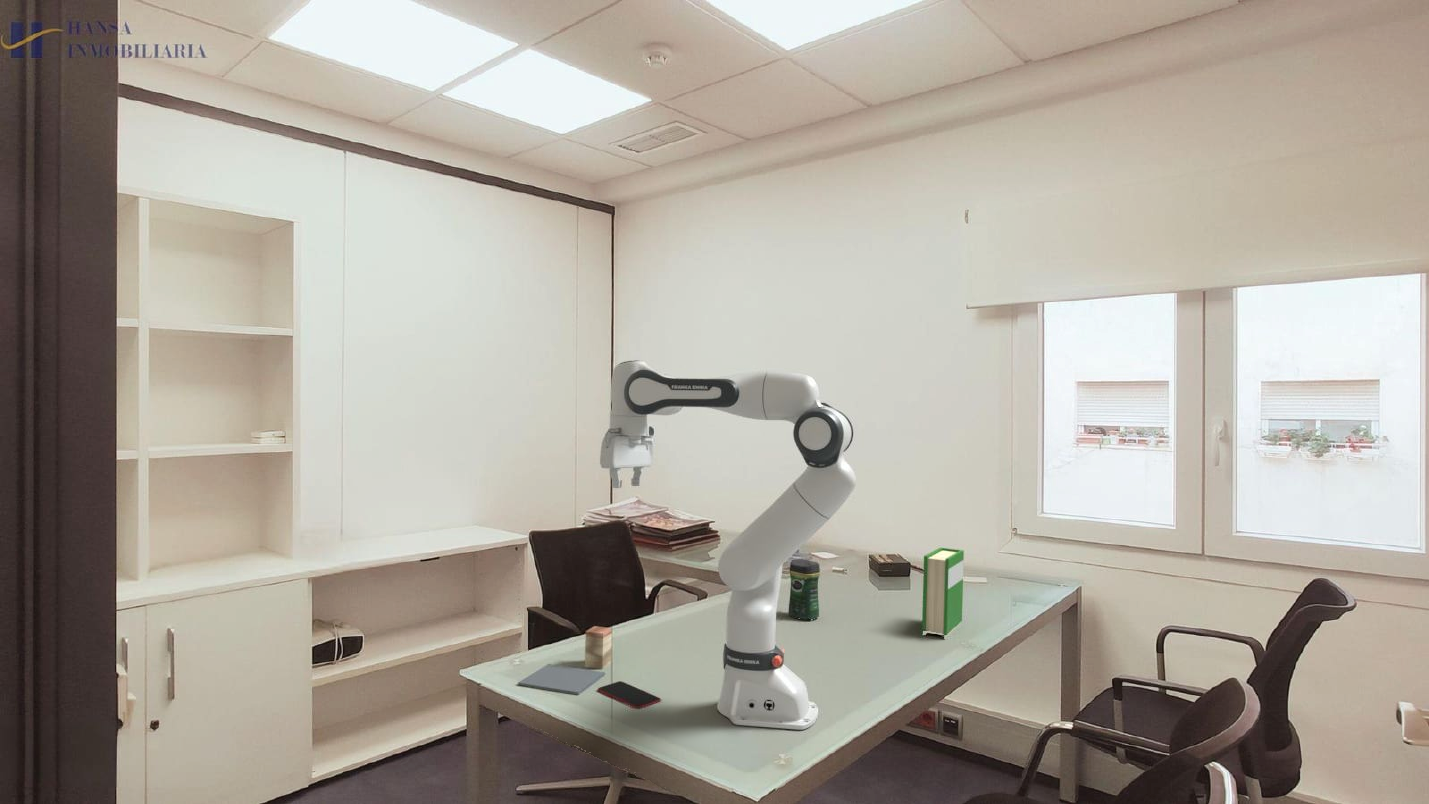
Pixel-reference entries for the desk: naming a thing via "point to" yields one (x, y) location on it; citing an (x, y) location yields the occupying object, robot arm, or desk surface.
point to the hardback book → (942, 590)
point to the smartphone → (629, 694)
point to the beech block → (598, 647)
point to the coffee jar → (804, 589)
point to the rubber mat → (562, 679)
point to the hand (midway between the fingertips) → (626, 486)
